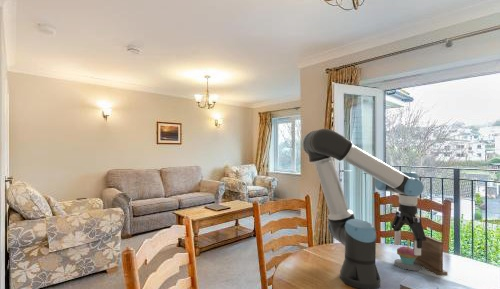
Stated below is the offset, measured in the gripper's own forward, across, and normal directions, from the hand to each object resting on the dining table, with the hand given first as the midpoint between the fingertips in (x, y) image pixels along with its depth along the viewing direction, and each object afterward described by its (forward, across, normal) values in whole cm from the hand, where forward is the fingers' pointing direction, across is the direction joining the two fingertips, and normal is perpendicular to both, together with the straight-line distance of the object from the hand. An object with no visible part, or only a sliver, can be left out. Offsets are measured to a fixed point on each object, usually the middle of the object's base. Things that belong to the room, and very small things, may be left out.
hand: (406, 249), depth 122 cm
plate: (+8, 0, -1) cm, 8 cm away
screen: (+7, -1, -10) cm, 12 cm away
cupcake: (+6, 0, 0) cm, 7 cm away
